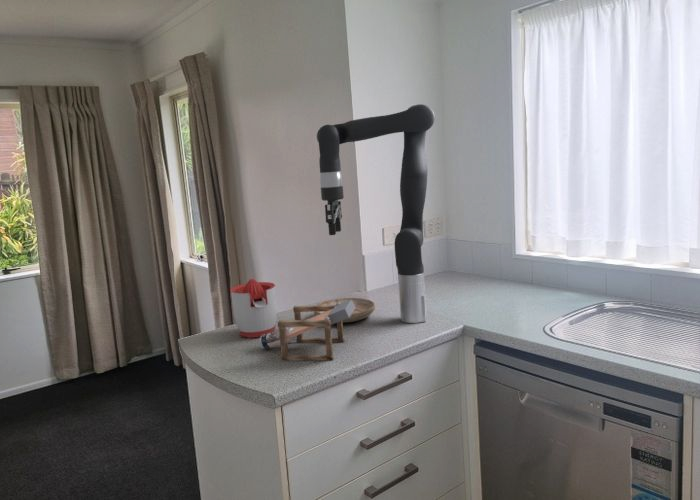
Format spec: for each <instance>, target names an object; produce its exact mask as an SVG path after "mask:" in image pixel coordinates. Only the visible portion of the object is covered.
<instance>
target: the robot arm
mask: <svg viewBox="0 0 700 500" xmlns="http://www.w3.org/2000/svg"><path fill="white" fill-rule="evenodd" d="M435 119H436V117H435V112H434V110H433V109H432V108H431V107H430V106H428V105H426V104H423V103H422V104H421V103H420V104H416V105H415V104H414V105H412V106H409V107H408V108H407V109H405V110H403V111H399V112H396V113H392V114H385V115H377V116H369V117H363V118H362V117H361V118H357V119H354V120H353V119H352V120H349V121H345V122H343V123H342V122H341V123H337V124H324V125H322V126H321V127H320V128H319V129H318V130H317V132H316V140H317V142H318V149H319V161H318V162H319V164H318V165H319V173H320V174H319V186H320V195H321V198H320V199H321V200H322V201H325V202H326V201H327V204H324V211H325V223H327V226H328V234H329V236H335V235H336V234H337V233H339V232H341V231H342V225H341V224H342V223H341V220H342V218H343V214H342V204H341V200H343V199H344V198H345V197H344V195H345V194H344V186H343V184H344V183H343V175H342V170H341V168H342V167H341V158H340V145H342V144H346V143H355V142H361V141H365V140H370V139H375V138H379V137H383V136H387V135H391V134H392V135H393V134H398V133H403V151H402V152H403V153H402V159H401V171H400V178H399V179H400V180H399V181H400V183H399V188H400V189H399V193H400V194H399V195H400V202H401V208H402V209H401V211H402V212H401V213H402V214H401V215H402V216H401V224H400V229H399V232H398V233H397V234H396V236H395V238H394V254H395V255H394V256H395V265H396V266H395V267H396V268H397V282H398V297H399V313H400V314H399V315H400V321H401V322H403V323H407V324H416V323H418V324H419V323H424V322H427V318H428V315H427V313H428V312H427V296H426V291H425V290H426V288H425V287H426V286H425V272H424V271H425V270H424V269H425V268H424V267H425V266H424V263H423V257H422V246H423V244H424V225H423V224H424V219H423V218H424V207H425V203H426V197H427V196H426V195H427V187H428V186H427V185H428V163H427V158H426V156H427V155H426V151H425V150H426V149H425V144H426V134H427V131H428V130H429V129H431V128H432V127H433V125H434V123H435ZM339 200H340V201H339Z"/></svg>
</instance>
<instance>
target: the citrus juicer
mask: <svg viewBox="0 0 700 500" xmlns="http://www.w3.org/2000/svg"><path fill="white" fill-rule="evenodd" d="M275 287H276V285H275V283H273V282H268V281H267V282H266V281H260V282H259V281H257V280H256V279H254V278H250V279H249V280H248V281H247V283H241V284H239V285H236V286H233V287H231V288H230V293H231V302H232V311H233V317H234V322H235V325H236V327H237V330H238V332H239V334H240V336H242V337H244V338H248V339H253V338H260V337H261V336H262V335H263V334H268V333H272V332H275V328H276V323H277V316H278V315H277V311H278V309H277V301H276V291H275V289H276V288H275Z"/></svg>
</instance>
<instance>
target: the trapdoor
mask: <svg viewBox="0 0 700 500" xmlns="http://www.w3.org/2000/svg"><path fill="white" fill-rule="evenodd" d="M355 308H356V307H355V305H354V303H353V301H352V299H351V300H349V301H346V302H344V303H341V304H339V305H337V306H335V307H334V308H333V309H331V310H328V311H326V312H323V313H321V314H319V315H316V314H315V315H314V316H312V317H309V318H307V319H305V320H324V319H325V318H326V317H329V320H331V326H332V325H335V324H337V322H340V321H342V320H345V319H347V318H349V317H350V316H351V314H352V313H353V311H354V310H355ZM318 327H320V326H314V327H293V330H292V331H291V332H290V333H289V334H288V335H287V338H288V339H289V338H292V337H294V336H297V335H299V334H302V335H303V334H305V333H307V332H309V331H312V330H313V329H316V328H318Z"/></svg>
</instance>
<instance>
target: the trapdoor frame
mask: <svg viewBox="0 0 700 500" xmlns="http://www.w3.org/2000/svg"><path fill="white" fill-rule="evenodd" d="M339 304H340V303H339V302H338V303H337V304H336V305H328V306H316V305H294V306H293V307H292V310H293V315H294V320H291V319H290V320H288V319H287V320H278V321H277V327H278V331H279V334H280V344H281V346H280V350H281V351H280V352H281V353H280V354H281V356H280V358H281V361H334V358H335V355H334V353H333V343H344V342H345V337H344V327H343V326H344V325H343V324H344V323H342V321H340V322H337V323H336V331H337V332H336V333H337V337H332V328H331V327H332V325H331V320H329V317H326V318H325V319H324V320H306V319H302V317H301V313H304V312H305V313H306V312H307V313H308V312H309V313H310V312H313V313H314V312H316V311H328V310H331V309H333V308H334V307H335V306H337V305H339ZM314 326H319V327H323V328H324V329H323V331H324V337H303V333H302V334H299V335H297V340H296V342H295V344H296V343H325V353H326V354H300V355H299V354H290V355H289V349H288V344H287V335H286V329H287V328H295V327H314Z"/></svg>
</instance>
